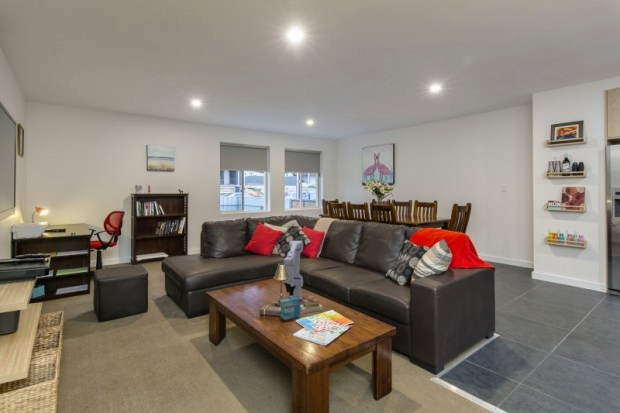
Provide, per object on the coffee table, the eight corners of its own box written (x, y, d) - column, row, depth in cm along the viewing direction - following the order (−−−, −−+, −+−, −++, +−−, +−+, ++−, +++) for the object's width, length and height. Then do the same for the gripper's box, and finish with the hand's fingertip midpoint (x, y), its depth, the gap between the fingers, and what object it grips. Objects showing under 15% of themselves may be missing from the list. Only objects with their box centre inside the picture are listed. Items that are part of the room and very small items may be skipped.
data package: (283, 320, 200) (282, 302, 199) (280, 318, 204) (280, 299, 203) (300, 316, 205) (300, 298, 205) (297, 314, 209) (297, 296, 209)
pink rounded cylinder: (307, 300, 218) (307, 296, 218) (312, 299, 220) (312, 295, 220) (309, 302, 215) (309, 297, 215) (314, 301, 216) (314, 297, 216)
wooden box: (303, 305, 218) (302, 299, 218) (316, 303, 222) (316, 297, 221) (305, 308, 213) (305, 302, 213) (319, 306, 216) (319, 300, 216)
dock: (299, 308, 219) (299, 304, 219) (318, 305, 224) (318, 302, 224) (303, 313, 211) (303, 309, 211) (323, 310, 216) (322, 306, 215)
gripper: (281, 272, 224) (281, 291, 225) (286, 277, 211) (287, 297, 211) (290, 271, 227) (291, 290, 227) (296, 276, 213) (297, 296, 213)
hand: (289, 293), depth 219 cm, fingers open, 7 cm apart
